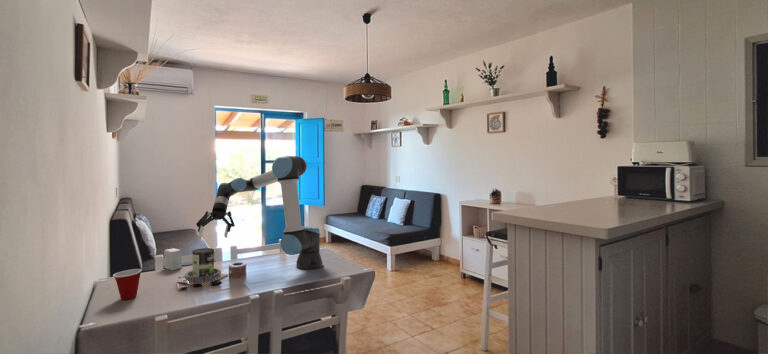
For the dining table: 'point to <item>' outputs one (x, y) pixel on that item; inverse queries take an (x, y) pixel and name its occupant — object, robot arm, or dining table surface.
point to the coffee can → (203, 262)
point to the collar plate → (205, 279)
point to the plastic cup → (128, 283)
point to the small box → (173, 259)
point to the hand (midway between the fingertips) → (212, 236)
